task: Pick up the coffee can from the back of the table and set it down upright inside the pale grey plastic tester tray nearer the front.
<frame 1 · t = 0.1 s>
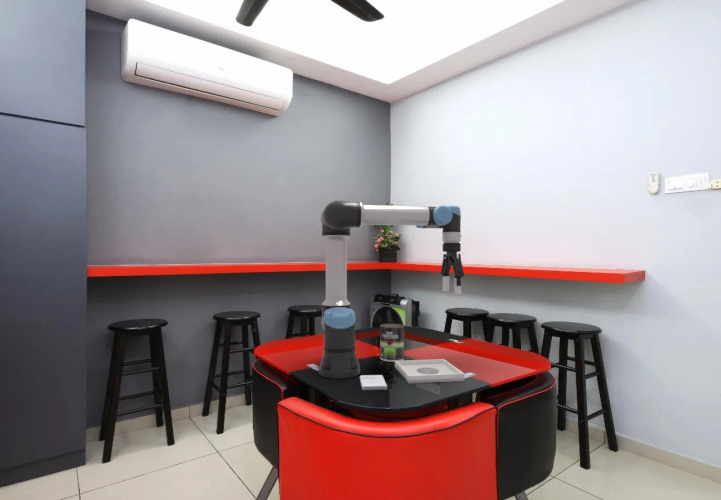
hand: (451, 292, 167), 28 cm above the table, tool pointing down, fingers open, 13 cm apart
external hard drive: (372, 385, 134), on the table
coffee can: (392, 359, 166), on the table
tester tray: (427, 373, 145), on the table
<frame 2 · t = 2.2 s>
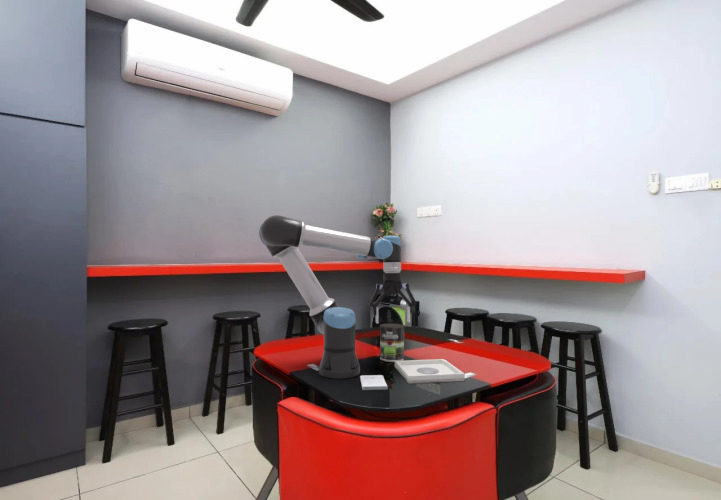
hand: (392, 322, 167), 15 cm above the table, tool pointing down, fingers open, 13 cm apart
nothing on the table moved.
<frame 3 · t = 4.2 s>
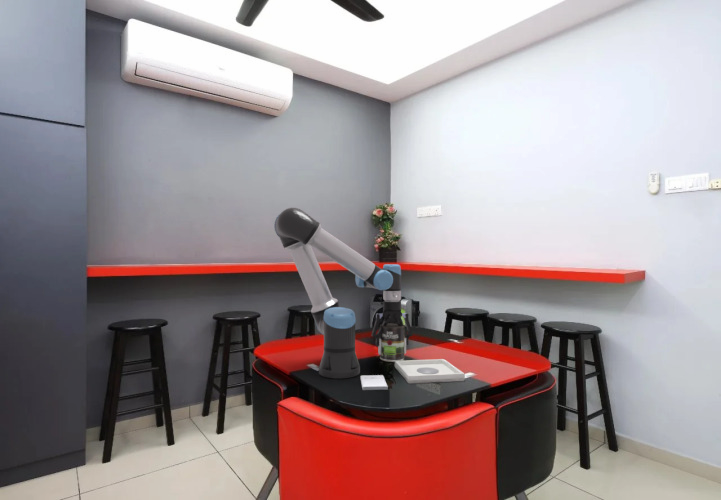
hand: (392, 353, 167), 2 cm above the table, tool pointing down, fingers closed on coffee can, 10 cm apart
coffee can: (392, 359, 167), on the table, touching gripper
everything else where it was.
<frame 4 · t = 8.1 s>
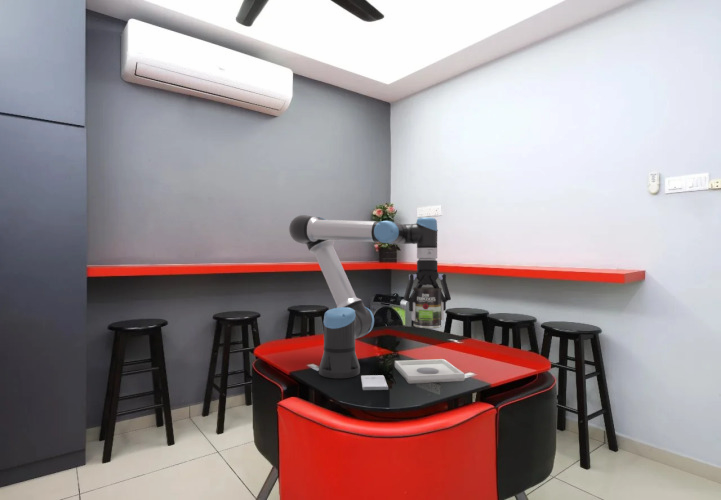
hand: (427, 319, 146), 20 cm above the table, tool pointing down, fingers closed on coffee can, 10 cm apart
coffee can: (427, 326, 146), point 17 cm above the table, touching gripper
everything else where it was.
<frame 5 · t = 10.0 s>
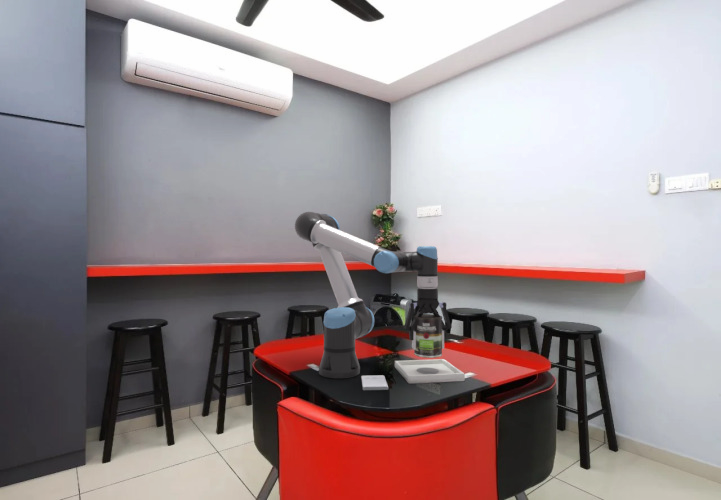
hand: (428, 348, 145), 9 cm above the table, tool pointing down, fingers closed on coffee can, 10 cm apart
coffee can: (428, 355, 145), point 7 cm above the table, touching gripper
everything else where it was.
when the fingers open (5 cm above the table, at t = 11.9 s): coffee can drops 1 cm, resting on tester tray.
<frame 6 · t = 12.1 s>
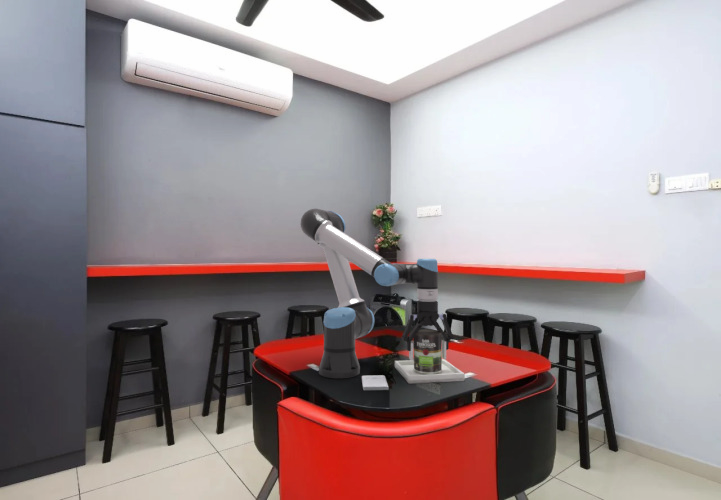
hand: (427, 359, 145), 5 cm above the table, tool pointing down, fingers open, 12 cm apart
coffee can: (427, 370, 145), point 1 cm above the table, touching tester tray
everything else where it was.
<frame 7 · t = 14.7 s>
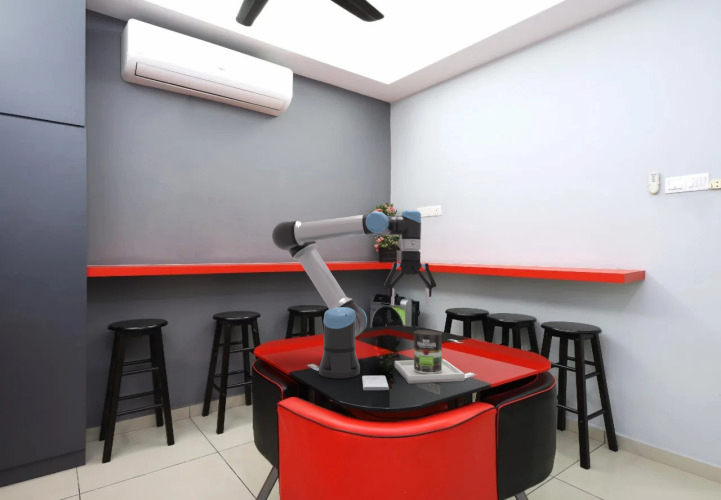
hand: (409, 305, 153), 24 cm above the table, tool pointing down, fingers open, 13 cm apart
nothing on the table moved.
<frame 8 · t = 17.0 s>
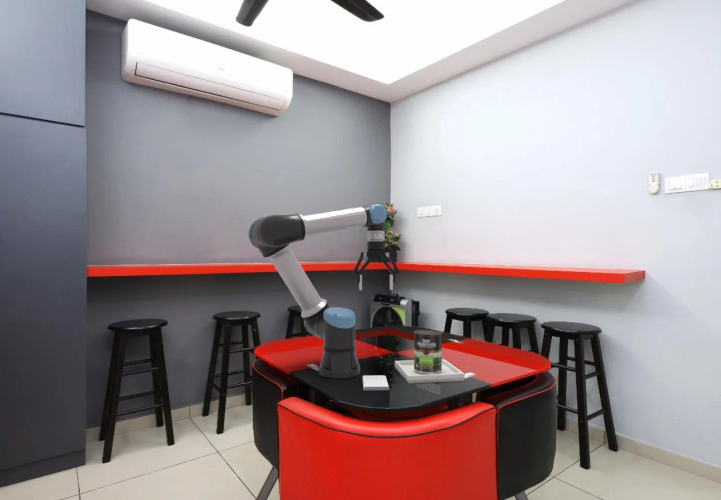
hand: (376, 289, 171), 29 cm above the table, tool pointing down, fingers open, 13 cm apart
nothing on the table moved.
at the end: coffee can inside the target area on the tester tray (0.1 cm from its centre), point 1.0 cm above the tester tray's base; coffee can tilted 0°; the gripper is holding nothing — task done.
